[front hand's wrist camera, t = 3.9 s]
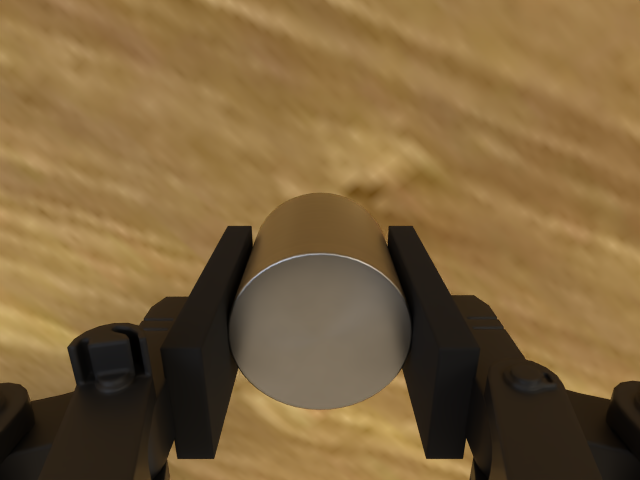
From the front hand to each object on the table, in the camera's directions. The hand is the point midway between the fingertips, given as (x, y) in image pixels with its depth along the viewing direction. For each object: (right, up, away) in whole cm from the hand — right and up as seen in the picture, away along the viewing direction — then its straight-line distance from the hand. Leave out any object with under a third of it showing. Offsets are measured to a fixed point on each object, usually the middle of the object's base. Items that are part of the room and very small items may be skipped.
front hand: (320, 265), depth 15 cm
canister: (0, 0, 0) cm, 0 cm away
